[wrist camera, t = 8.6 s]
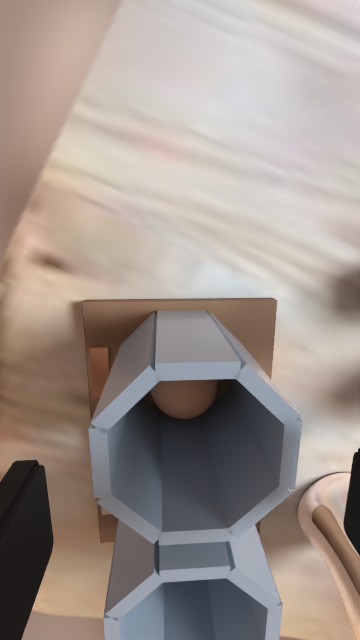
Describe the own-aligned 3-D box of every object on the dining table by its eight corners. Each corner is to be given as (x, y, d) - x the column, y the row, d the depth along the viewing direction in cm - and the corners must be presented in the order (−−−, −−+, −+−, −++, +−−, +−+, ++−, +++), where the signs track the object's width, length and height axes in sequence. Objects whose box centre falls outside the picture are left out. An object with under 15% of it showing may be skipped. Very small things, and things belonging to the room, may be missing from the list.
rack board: (85, 299, 18) (80, 303, 17) (272, 297, 19) (278, 301, 18) (102, 531, 22) (99, 546, 21) (255, 523, 23) (260, 537, 22)
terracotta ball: (150, 342, 18) (148, 366, 14) (212, 341, 18) (224, 364, 15) (151, 399, 19) (149, 434, 15) (210, 397, 19) (222, 432, 16)
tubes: (117, 310, 17) (82, 365, 10) (243, 309, 18) (308, 360, 10) (128, 534, 21) (110, 703, 13) (232, 528, 22) (273, 689, 14)
